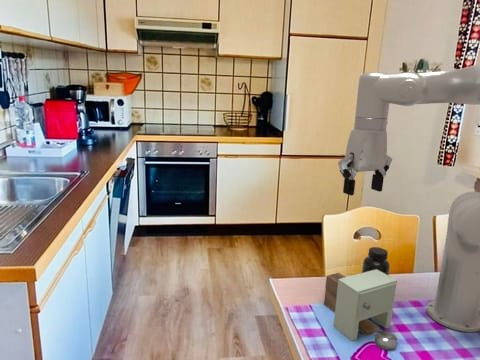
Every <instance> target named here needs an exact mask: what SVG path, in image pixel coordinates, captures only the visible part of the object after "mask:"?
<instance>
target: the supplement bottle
mask: <svg viewBox="0 0 480 360" xmlns="http://www.w3.org/2000/svg"><path fill="white" fill-rule="evenodd" d="M388 254H389V251H387V249H384V248H382V247H378V246H374V247H373V246H372V247H370V248H369V249H368V253H367V255H368V256H366V257H365V258H364V259H363V263H362V271H361V273H364V272H368V271H372V270H376V269H377V270H379V271H381V272H383V273H384V274H386V275H388V276H390V274H389V273H390V267H391V266H390V265H391V264H390V262H389V261H388Z"/></svg>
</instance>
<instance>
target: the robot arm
mask: <svg viewBox="0 0 480 360" xmlns="http://www.w3.org/2000/svg"><path fill="white" fill-rule="evenodd" d="M356 96H357V97H356V106H355V113H354V114H355V115H354V116H355V117H354V126H353V129H351V131H350V132H349V133H350V134H349V137H348V140H347V145H346V149H345V156H344V157H343V158H342V159H340V160H339V161H338V162H337V165H338V167H339V173H340V174H341V175H342V177H343V178H344V179H343V187H342V188H343V189H342V190H343V191H342V192H343V194H346V195H348V196H354V194H355V188H356V179H355V177H356V176H357V175H358V173H359V172H360V173H361V172H373V173H372V177H371V178H372V179H371V183H370V184H371V185H370V189H371V190H373V191H377V192H380V193H381V192H382V191H383V186H384V178H385V177H386V175H387V171H388V170H389V169H390V166H391V164H392V162H393V158H392V157H391V156H389V155H388V153H387V152H388V132H387V126H388V118H389V117H388V116H389V111H390V110H389V109H390V104H392V105H396V106H403V107H411V106H414V105H424V104H425V105H427V104H428V105H429V104H462V105H470V106H471V105H473V106H475V105H477V106H478V105H480V64H475V65H470V66H467V67H463V68H457V69H452V70H443V71H442V70H441V71H432V72H429V71H428V72H418V73H417V72H413V71H409V72H408V71H407V72H397V73H396V72H395V73H385V72H363V73H362V74H361V75H360V77H359V80H358V87H357V95H356ZM446 229H447V230H446V236H445V242H444V250H443V255H442V258H441V263H440V272H439V276H438V277H439V278H438V283H437V290H436V295H435V299H433V300H431V301H429V302H428V303H427V306H426V311H427V314H428V315H429V317H430V318H431V319H432V320H434V322H437V323H438V324H440V325H442V326H444V327H446V328H449V329H452V330H456V331H459V332H465V333H466V332H467V333H473V332H476V333H477V332H478V331H480V192H479V191H469V192H468V191H467V192H464V193H462V194H460V195H459V196H457V197H456V198H455V199H454V200H453V201H452V203H451V204H450V207H449V213H448V220H447V228H446Z"/></svg>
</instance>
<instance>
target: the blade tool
mask: <svg viewBox="0 0 480 360" xmlns="http://www.w3.org/2000/svg"><path fill="white" fill-rule="evenodd" d="M345 277H346V276H345V275H343V274H342V273H340V272H335V273H332V274H328V275H326V280H325V288H324V289H325V290H324V299H323V306H325V307H327V308H328V307H329V308H328V309H330V310H331V309H332V310H333V311H332V310H331V311H332V312H334V313H335V307H336V297H337V288H338V279H341V278H345ZM379 330H380V329H379V326H378V325H376V324H375V323H373V322H372V321H370V320H369V318H367V319H364V320H361V321H359V326H358V331H360V333H362V334H364V336H366V337H368V336H370V335H371V336H372V335H374V334H376V333H377V332H378V331H379Z"/></svg>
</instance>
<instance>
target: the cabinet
mask: <svg viewBox="0 0 480 360" xmlns="http://www.w3.org/2000/svg"><path fill="white" fill-rule="evenodd" d="M397 282H398V280H397V279H395V278H394V277H392V276H390V275H386V274H384V273H383V272H381V271H379V270H377V269H376V270H372V271H368V272H364V273H362V272H361V273H357V274H353V275H349V276H345V278H341V279H338V288H337V297H336V307H335V312H334V319H333V327H334V328H336V330H337V331H339V332H340V333H341V334H343V335H344V336H345V337H346V338H347V339H349V340H350V341H351V342H353V341H355V340H358V333H359V330H358V326H359V321H361V320H364V319H372V320H373V321H374V322H376V323H377V324H378V325H380V326H381V327H382V328H384V329H389V328H390V327H391V324H392V317H393V310H394V304H395V299H396V298H395V297H396V291H397Z"/></svg>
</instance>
